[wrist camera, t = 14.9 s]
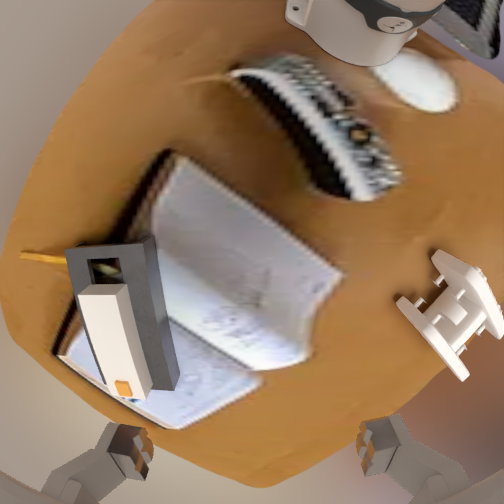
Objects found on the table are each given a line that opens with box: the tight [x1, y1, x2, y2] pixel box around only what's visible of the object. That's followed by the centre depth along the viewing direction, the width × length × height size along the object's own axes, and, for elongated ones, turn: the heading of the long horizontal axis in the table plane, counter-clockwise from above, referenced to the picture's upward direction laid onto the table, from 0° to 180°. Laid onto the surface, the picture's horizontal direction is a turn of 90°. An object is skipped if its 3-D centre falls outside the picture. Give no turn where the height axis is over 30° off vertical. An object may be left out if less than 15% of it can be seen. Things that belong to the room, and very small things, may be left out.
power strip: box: [78, 283, 153, 400], centre depth 37 cm, size 16×6×8 cm, turn 4°
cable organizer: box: [396, 249, 504, 381], centre depth 34 cm, size 15×11×12 cm
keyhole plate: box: [64, 236, 180, 391], centre depth 38 cm, size 22×12×4 cm, turn 4°
